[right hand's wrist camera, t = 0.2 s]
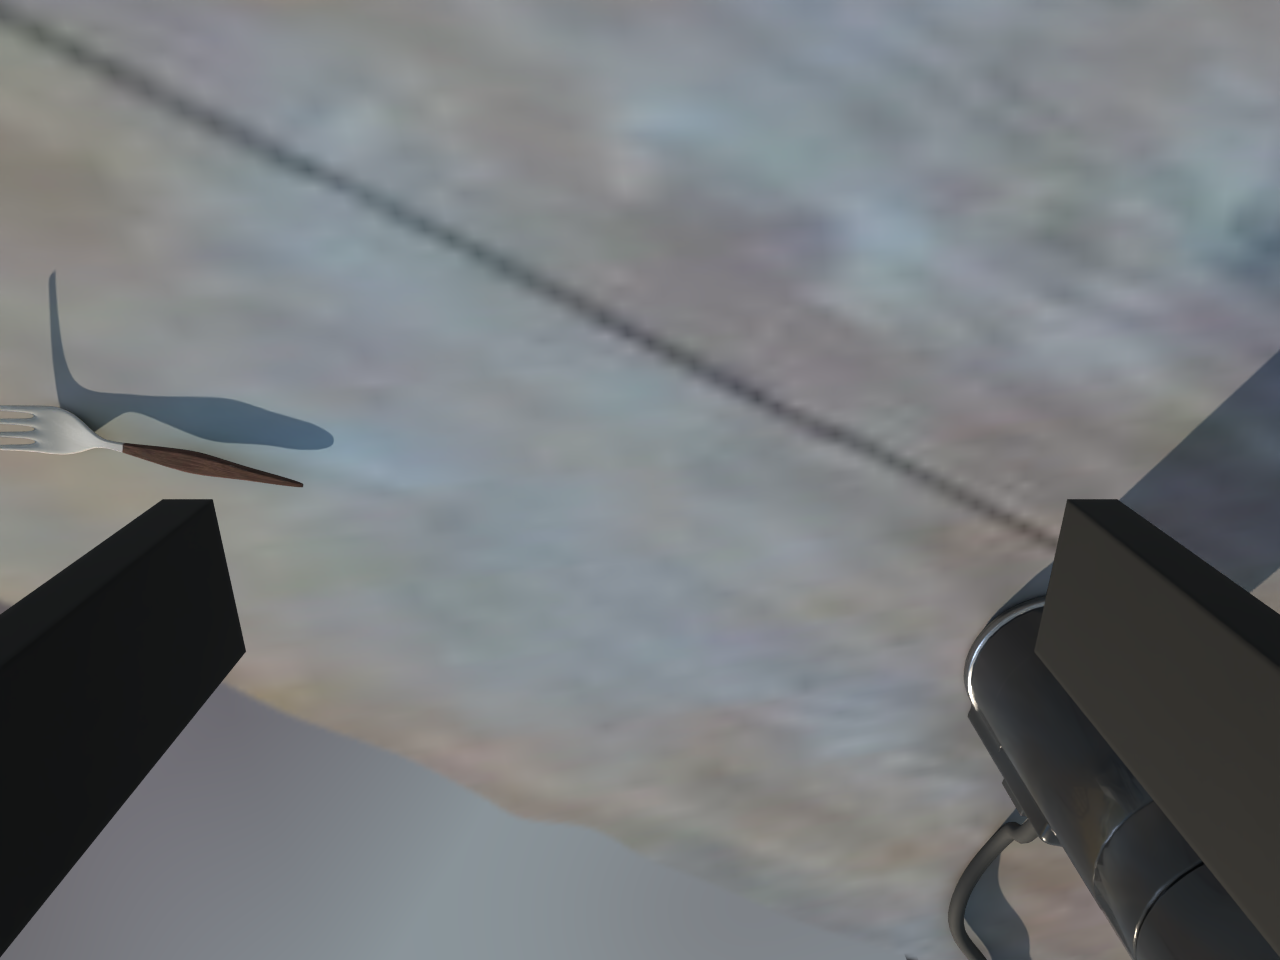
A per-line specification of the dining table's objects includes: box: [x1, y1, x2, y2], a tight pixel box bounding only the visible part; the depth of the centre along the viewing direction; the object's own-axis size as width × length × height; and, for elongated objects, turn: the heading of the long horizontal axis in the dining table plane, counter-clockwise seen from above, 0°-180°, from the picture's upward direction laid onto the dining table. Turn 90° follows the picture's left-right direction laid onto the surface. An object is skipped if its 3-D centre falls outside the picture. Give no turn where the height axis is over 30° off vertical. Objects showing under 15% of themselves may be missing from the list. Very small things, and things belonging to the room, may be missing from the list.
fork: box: [0, 405, 303, 487], centre depth 40 cm, size 3×16×2 cm, turn 77°
